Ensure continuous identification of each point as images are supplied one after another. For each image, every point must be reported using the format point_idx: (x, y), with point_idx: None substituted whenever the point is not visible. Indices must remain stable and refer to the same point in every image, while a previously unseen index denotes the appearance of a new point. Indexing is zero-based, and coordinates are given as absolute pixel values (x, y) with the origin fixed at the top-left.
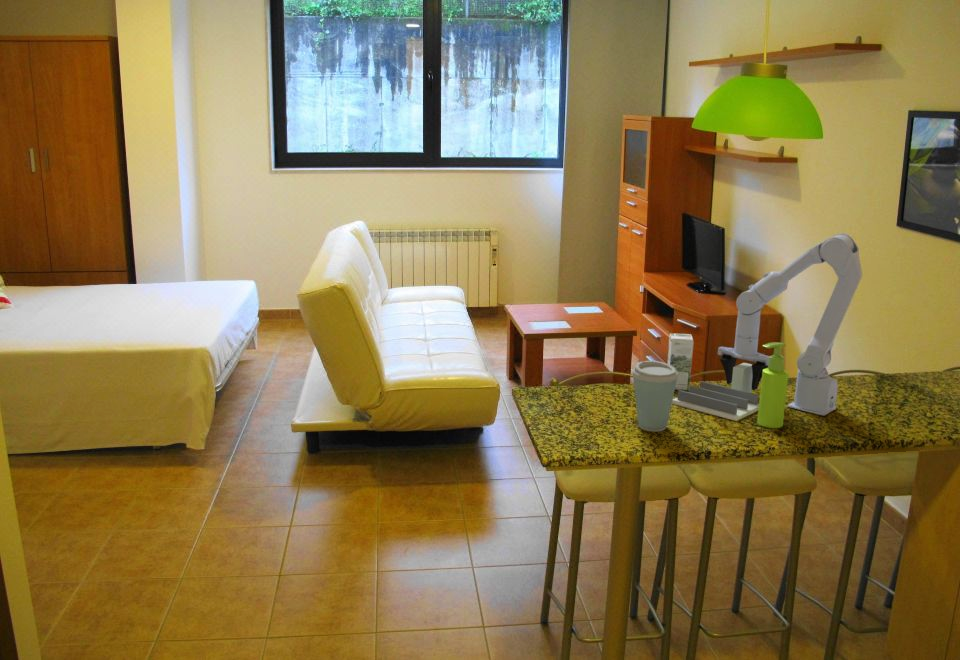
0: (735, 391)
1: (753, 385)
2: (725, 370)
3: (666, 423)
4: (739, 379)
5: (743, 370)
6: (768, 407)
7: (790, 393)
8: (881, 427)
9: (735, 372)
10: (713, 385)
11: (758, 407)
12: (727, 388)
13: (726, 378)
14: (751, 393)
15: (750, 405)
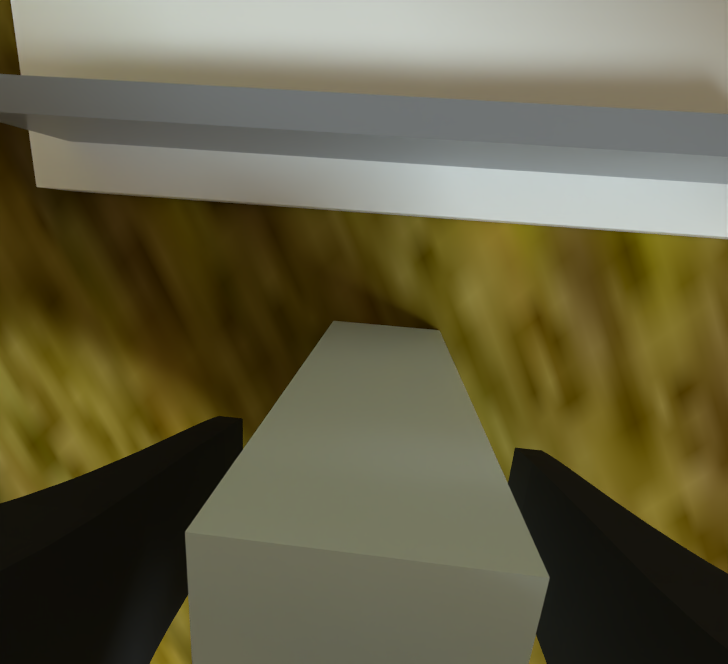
0: (290, 100)
1: (189, 430)
2: (688, 562)
3: None
4: (341, 396)
5: (210, 503)
6: None
7: None
8: None
9: (436, 468)
10: (664, 117)
11: (29, 70)
12: (420, 102)
13: (579, 478)
14: (48, 99)
15: (93, 38)
